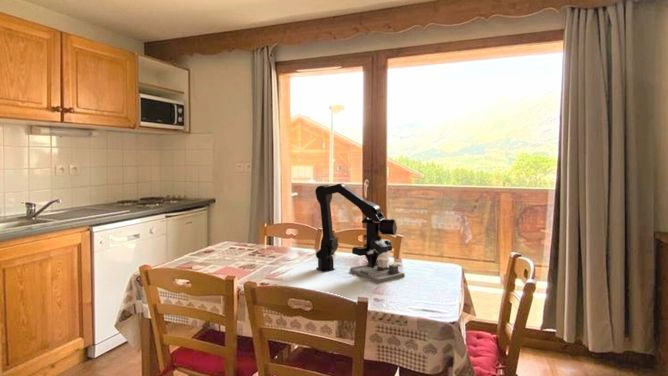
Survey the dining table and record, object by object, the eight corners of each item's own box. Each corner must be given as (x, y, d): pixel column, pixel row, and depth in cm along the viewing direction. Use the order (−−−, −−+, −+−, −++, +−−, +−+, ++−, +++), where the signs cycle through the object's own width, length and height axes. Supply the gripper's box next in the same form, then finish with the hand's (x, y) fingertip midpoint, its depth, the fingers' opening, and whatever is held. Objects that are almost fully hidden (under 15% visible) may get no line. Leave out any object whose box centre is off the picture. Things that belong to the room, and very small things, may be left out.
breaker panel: (378, 283, 168) (378, 271, 167) (349, 271, 185) (349, 260, 184) (404, 277, 176) (404, 265, 176) (375, 266, 193) (375, 256, 193)
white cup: (389, 262, 201) (389, 242, 200) (373, 261, 202) (373, 242, 202) (390, 258, 209) (390, 239, 208) (375, 257, 210) (375, 238, 209)
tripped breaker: (383, 270, 180) (383, 260, 179) (377, 268, 183) (377, 258, 183) (388, 269, 181) (388, 259, 181) (382, 267, 185) (382, 257, 184)
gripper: (367, 238, 166) (367, 275, 167) (400, 233, 176) (400, 268, 178) (351, 234, 175) (351, 269, 176) (383, 230, 186) (383, 263, 187)
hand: (372, 267), depth 179 cm, fingers closed
